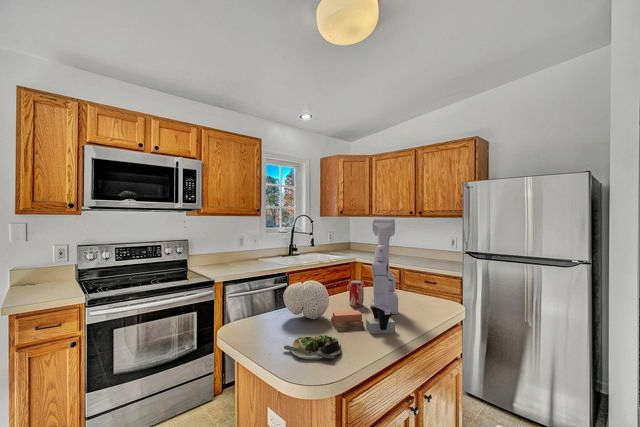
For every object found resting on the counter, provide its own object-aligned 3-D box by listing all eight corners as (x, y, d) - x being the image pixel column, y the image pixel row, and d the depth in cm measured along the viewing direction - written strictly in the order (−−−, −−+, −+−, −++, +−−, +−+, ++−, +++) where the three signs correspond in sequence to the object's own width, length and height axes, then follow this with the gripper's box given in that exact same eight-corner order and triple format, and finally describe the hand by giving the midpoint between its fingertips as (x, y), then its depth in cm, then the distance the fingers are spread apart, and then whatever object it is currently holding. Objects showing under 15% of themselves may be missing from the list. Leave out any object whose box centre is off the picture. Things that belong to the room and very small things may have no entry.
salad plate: (280, 364, 93) (280, 349, 93) (286, 340, 111) (286, 327, 111) (343, 364, 93) (343, 349, 93) (339, 339, 111) (339, 327, 111)
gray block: (389, 327, 122) (389, 317, 122) (395, 332, 117) (395, 321, 117) (366, 329, 120) (366, 319, 120) (370, 334, 116) (370, 323, 116)
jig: (355, 319, 132) (355, 313, 132) (364, 329, 120) (364, 323, 120) (331, 320, 130) (331, 314, 130) (337, 331, 118) (337, 325, 118)
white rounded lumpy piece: (323, 310, 143) (323, 276, 143) (334, 324, 126) (334, 284, 126) (281, 314, 138) (281, 278, 138) (287, 328, 121) (287, 287, 121)
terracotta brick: (358, 319, 128) (358, 310, 128) (361, 323, 123) (361, 314, 123) (332, 321, 126) (332, 311, 126) (335, 325, 121) (335, 315, 121)
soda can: (354, 308, 147) (354, 283, 147) (346, 304, 153) (346, 280, 153) (366, 306, 150) (366, 282, 150) (358, 302, 156) (358, 279, 156)
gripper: (365, 288, 125) (365, 321, 125) (377, 298, 111) (377, 334, 111) (381, 287, 127) (381, 320, 127) (395, 297, 112) (395, 333, 112)
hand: (380, 326), depth 119 cm, fingers closed on gray block, 5 cm apart
